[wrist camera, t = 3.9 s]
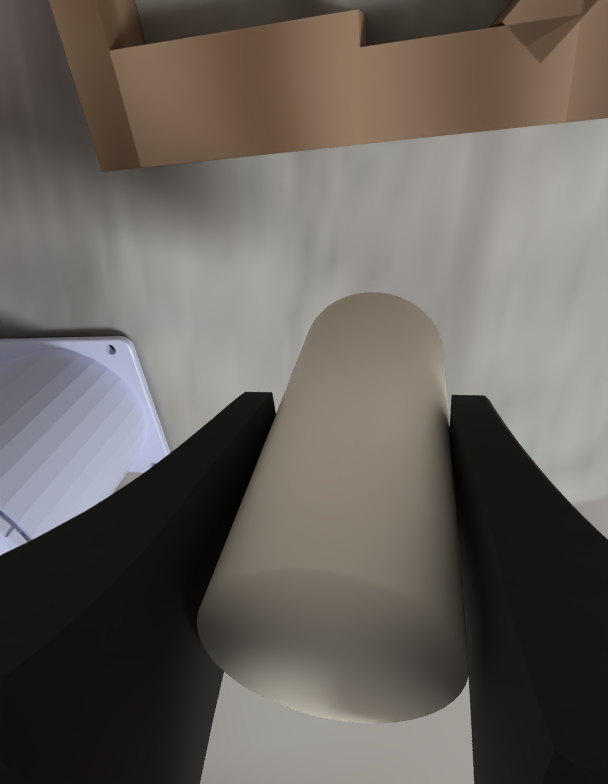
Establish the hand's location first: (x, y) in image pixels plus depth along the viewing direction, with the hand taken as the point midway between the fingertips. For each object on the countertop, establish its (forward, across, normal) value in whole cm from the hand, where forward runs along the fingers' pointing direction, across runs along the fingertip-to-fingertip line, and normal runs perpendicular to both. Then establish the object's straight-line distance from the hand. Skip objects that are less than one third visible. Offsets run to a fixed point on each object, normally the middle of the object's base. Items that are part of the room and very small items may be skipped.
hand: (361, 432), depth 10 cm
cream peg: (+3, 0, 0) cm, 3 cm away
